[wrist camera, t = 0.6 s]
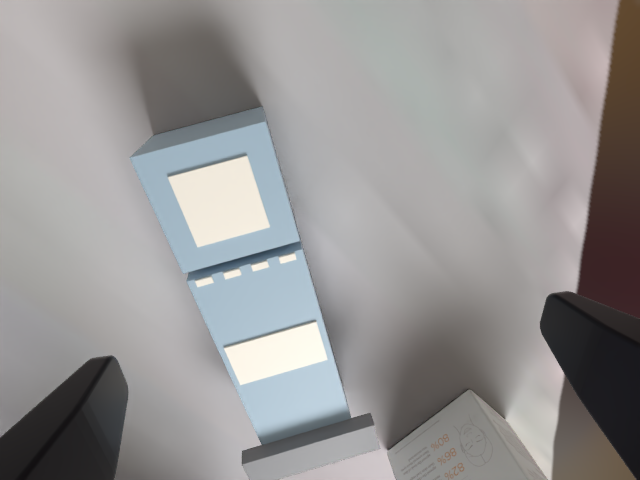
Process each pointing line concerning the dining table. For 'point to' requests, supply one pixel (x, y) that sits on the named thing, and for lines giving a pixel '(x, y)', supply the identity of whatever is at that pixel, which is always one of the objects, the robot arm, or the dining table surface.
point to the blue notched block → (280, 362)
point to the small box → (464, 447)
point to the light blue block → (217, 189)
